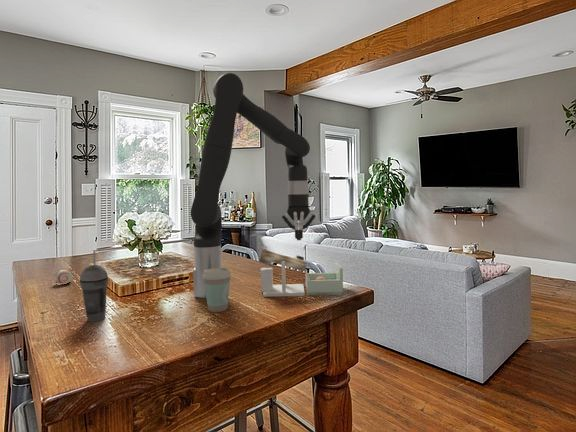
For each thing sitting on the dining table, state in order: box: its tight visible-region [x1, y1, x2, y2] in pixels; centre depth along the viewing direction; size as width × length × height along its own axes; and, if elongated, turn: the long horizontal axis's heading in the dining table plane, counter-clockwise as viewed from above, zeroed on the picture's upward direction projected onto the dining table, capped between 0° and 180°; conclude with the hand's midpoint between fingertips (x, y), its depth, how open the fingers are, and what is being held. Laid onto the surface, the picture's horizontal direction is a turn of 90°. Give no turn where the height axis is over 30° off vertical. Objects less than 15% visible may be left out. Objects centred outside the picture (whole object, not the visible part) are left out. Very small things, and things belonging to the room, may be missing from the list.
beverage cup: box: [79, 249, 109, 323], centre depth 104 cm, size 7×7×20 cm
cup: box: [305, 261, 344, 297], centre depth 129 cm, size 12×12×9 cm
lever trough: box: [259, 245, 307, 272], centre depth 131 cm, size 16×13×5 cm
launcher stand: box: [259, 261, 306, 298], centre depth 128 cm, size 15×12×12 cm
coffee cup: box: [202, 267, 232, 313], centre depth 110 cm, size 8×9×12 cm
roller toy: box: [53, 269, 73, 284], centre depth 148 cm, size 4×6×6 cm
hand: (299, 239), depth 135 cm, fingers closed
